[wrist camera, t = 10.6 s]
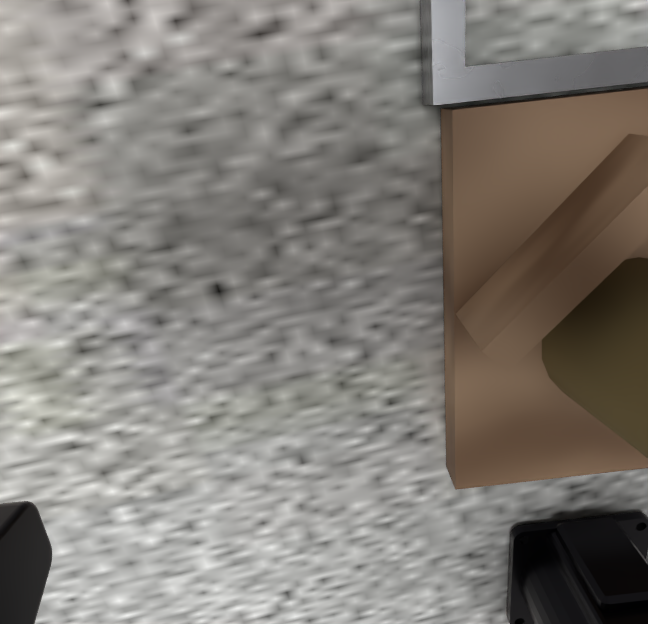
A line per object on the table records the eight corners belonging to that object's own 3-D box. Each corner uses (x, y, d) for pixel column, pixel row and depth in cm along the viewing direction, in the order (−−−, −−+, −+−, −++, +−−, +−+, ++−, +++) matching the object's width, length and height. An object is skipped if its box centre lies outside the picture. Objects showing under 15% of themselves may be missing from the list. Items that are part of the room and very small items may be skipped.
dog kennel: (722, 435, 24) (811, 507, 20) (446, 466, 24) (477, 545, 20) (803, 68, 18) (954, 62, 14) (440, 108, 18) (483, 113, 14)
